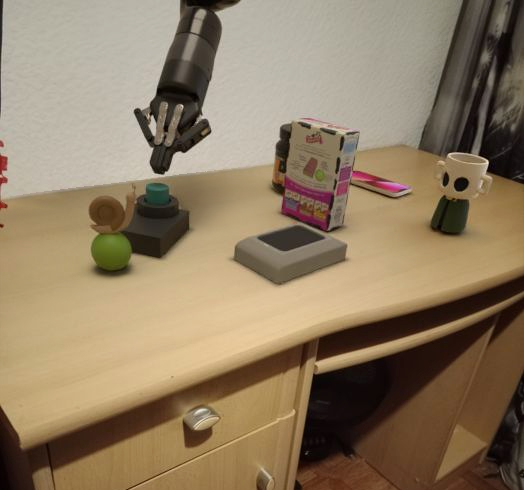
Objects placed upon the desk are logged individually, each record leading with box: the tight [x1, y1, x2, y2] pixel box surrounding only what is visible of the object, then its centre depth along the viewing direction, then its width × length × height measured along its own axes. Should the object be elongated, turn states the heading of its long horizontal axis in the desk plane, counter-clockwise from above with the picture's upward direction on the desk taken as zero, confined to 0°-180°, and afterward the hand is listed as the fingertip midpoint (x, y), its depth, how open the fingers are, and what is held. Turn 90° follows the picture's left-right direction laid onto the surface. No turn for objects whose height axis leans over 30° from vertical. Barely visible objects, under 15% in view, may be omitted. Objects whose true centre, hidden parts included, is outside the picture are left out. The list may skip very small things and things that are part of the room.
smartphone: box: [350, 170, 412, 198], centre depth 118 cm, size 7×1×15 cm
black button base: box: [119, 193, 191, 259], centre depth 85 cm, size 13×9×5 cm
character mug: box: [430, 152, 493, 234], centre depth 97 cm, size 11×7×13 cm, turn 42°
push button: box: [145, 182, 170, 205], centre depth 85 cm, size 4×4×2 cm
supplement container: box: [271, 122, 291, 195], centre depth 108 cm, size 10×10×12 cm
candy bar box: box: [280, 117, 361, 232], centre depth 94 cm, size 11×5×16 cm, turn 47°
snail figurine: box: [88, 182, 138, 271], centre depth 73 cm, size 5×6×12 cm
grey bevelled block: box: [233, 221, 348, 285], centre depth 83 cm, size 10×4×15 cm
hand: (157, 171), depth 83 cm, fingers closed
